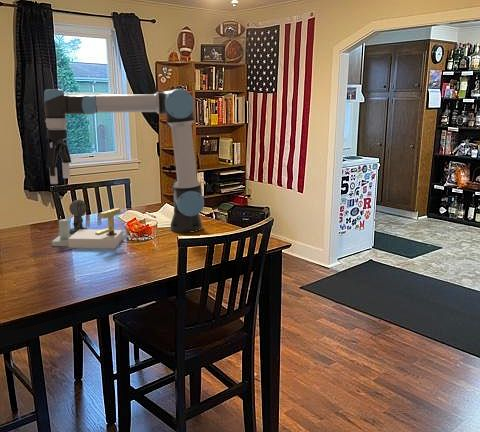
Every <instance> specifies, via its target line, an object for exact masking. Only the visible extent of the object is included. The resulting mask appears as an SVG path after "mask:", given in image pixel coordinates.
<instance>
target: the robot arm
mask: <svg viewBox="0 0 480 432" xmlns="http://www.w3.org/2000/svg"><path fill="white" fill-rule="evenodd" d="M64 91H65V90H64V89H45V90H44V92H43V94H44V96H43V99H44V100H43V103H44V112H45V120H44V122H45V123H46V124H45V125H46V129H47V130H46V136H47V139H48V140H51V142H50V141H49V142H48V143H47V156H46V164H45V165H46V169H47V168H48V170H49V181H50V185H58V184H59V180H58V167H57V162H58V157H60V158H61V161H62V163H61V165H62V166H61V167H62V169H61V170H62V178H63V179H70V178H71V173H70V172H71V171H70V163H72V158H71V155H70V151H69V148H68V141H67V138H68V132H67V130H68V129H67V117H66V115H95V114H98V113H99V114H101V113H103V114H104V113H106V114H107V113H108V114H109V113H110V114H111V113H157V115H165V117H166V119H165V120H166V124H167V125H169V127H170V131H171V137H172V139H171V140H172V146H173V155H174V163H175V172H176V181H175V182H173V187H172V189H173V215H172V219H171V221H170V230H171V231H172V232H175V233H180V232H190V231H196V230H199V229H201V228H202V229H203V222H202V218H201V216H200V213H201V212H202V211H203V209H204V206H205V199H204V196H203V192H202V190H203V189H202V183H201V182H200V181H199V180H198V177H197V168H196V167H197V166H196V158H195V150H194V139H193V130H192V128H193V127H192V124H194V122H195V113H194V108H195V102H194V98H193V96H192V95H191V94H190V92H188V90H185V89H183V88H174V89H173V88H172V89H171V90H166V91H156V92H155V93H151V94H149V93H148V94H147V93H145V94H141V93H139V94H135V93H134V94H65V92H64Z"/></svg>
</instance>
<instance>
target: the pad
mask: <svg viewBox="0 0 480 432" xmlns="http://www.w3.org/2000/svg"><path fill="white" fill-rule="evenodd" d="M51 246H52V247H69V245H52V244H51Z"/></svg>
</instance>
